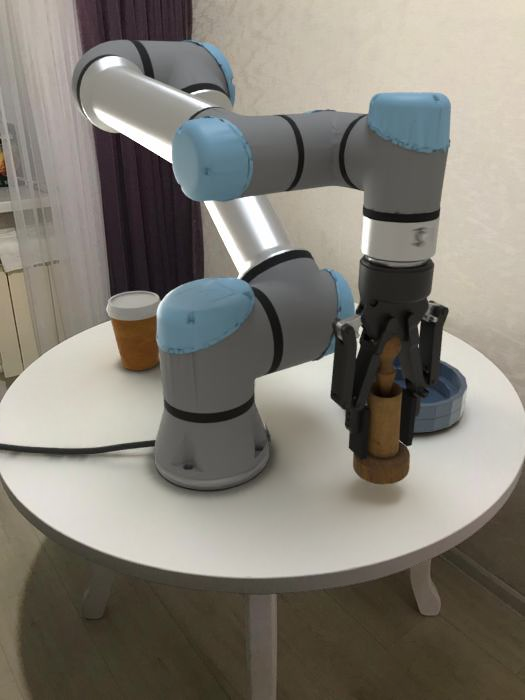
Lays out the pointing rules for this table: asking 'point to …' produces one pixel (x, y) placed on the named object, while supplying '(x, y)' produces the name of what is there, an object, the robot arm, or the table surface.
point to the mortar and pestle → (384, 425)
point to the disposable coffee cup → (135, 328)
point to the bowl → (438, 398)
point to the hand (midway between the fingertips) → (380, 446)
